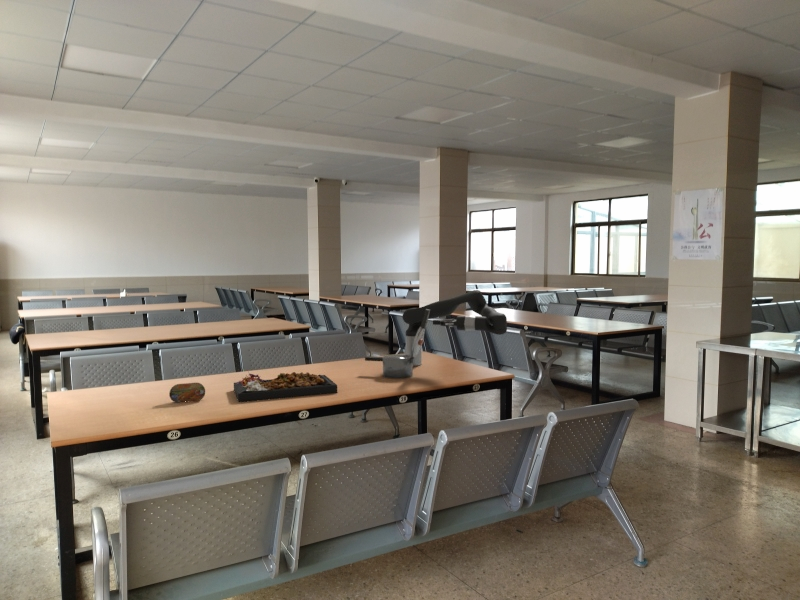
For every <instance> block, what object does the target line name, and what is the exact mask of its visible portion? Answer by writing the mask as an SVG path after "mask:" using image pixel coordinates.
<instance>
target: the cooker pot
mask: <svg viewBox="0 0 800 600" xmlns="http://www.w3.org/2000/svg"><path fill="white" fill-rule="evenodd" d="M411 357H412V356H410V355H405V354H402V353H399V354H387V355H383V356H371V355H370V356H365V357H364V361H366V362H382V376H383V377H384V378H387V379H396V380H398V379H407V378H410V377H411V378H412V377H413V376H414V373H413V371H414V369H413V367H414V366H413V363H414V362H415V358H412V359H411Z"/></svg>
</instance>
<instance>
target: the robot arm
mask: <svg viewBox="0 0 800 600" xmlns="http://www.w3.org/2000/svg"><path fill="white" fill-rule="evenodd" d="M462 304H467V305H468V306H469V308H470V309H471V311H473V312H474V313H476V314H477V315H480V316H476V315H475V316H474V315H457V316H456V319H455V318H446V319H444V317H448V316H451V315H452V314H453V313H454V312H455V311H456V310H457V308H458V307H459V306H461V305H462ZM425 309H429V310H430V314H429V317H428V320H431V319H433V320H432V325H435V326H437V325H438V326H441V327H447V328H448V327H449V328H454V327H456V330H457V331H468V332H469V331H471V332H472V331H473V332H474V331H483V332H488V333H492V334H494V335H501V336H502V335H504V334H506V333H507V331H508V323H507V322H508V321H507V320H508V319H507V316H506V315H505V313H502V312H499V311H497V310H496V309H494V308H493V307H491V306H489V305H488V303H487V300H486V298H485V297H484V295H483V293H482V292H481V290H480V289H474V290H470V291H468V292H465V293H462V294H459V295H456V296H454V297H450V298H445V299H442V300H439V301H435V302H430V303H429V304H426V305H424V306H421V307H420V306H419V307H412V308H407V309H406V310H405V311H404V312H403V314H402V320H403V322H404V323H405V324H408V328H406V330H405V347H404V355H410V356H412V355H411V351H412V345H413V342H414V338H415V336H416V333H417V331H418V329H419V328H420V327H421V325H422V321H423V317H424V313H425ZM438 318H440V319H438ZM441 318H443V319H441ZM414 358H415V362H414V363H413V367H414V366H415V367H416V366H422V347H421V348H420V350H419V353H418V354H417V356H416V357H414Z"/></svg>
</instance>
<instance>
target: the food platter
mask: <svg viewBox="0 0 800 600" xmlns="http://www.w3.org/2000/svg"><path fill="white" fill-rule="evenodd" d="M247 372H248V375H247V374H245V377H241V378H242V380H239V381H236V382H233V392H234V391H235V392H234V395H235V394H236V395H235V396H236V400H237V399H238V400H237V402H238V403H246V402H247V401H249V402H255V401H256V402H258V401H257V400H259V401H267V400H268V399H270V400H277V399H278V400H279V398H280V399H289V398H297V397H298V398H300V397H307V396H309V397H312V396H319V395H321V396H322V395H330V394H338V385H337V384H336V383H335V382H334V380H332V379H330V378H329V377H328V376H327V375H326V374H315V373H311V374H310V372H306V373H303V372H300V373H296V372H291V373H288V372H287V373H284V372H280V374H278V375H277V377H275V378H273V379H262V378H260V377H261V376H259V374H253V373H250V372H249V370H248V369H247ZM268 401H269V400H268Z"/></svg>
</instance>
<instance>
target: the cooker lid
mask: <svg viewBox="0 0 800 600" xmlns="http://www.w3.org/2000/svg"><path fill="white" fill-rule="evenodd" d="M429 314H430V310H429V309H425V313H424V317H423V321H422V325H421V327H420V328H419V329H418V331H417V333H416V336H415V338H414V342H413V345H412V351H411V355H412V357H411V359H412V358H414V357H416V356H417V354H418V353H419V350H420V348H421V349H422V345H423V343H424V337H425V332H426V331H425V330H426V328H427V325H428V320H429V319H428V317H429Z"/></svg>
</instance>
